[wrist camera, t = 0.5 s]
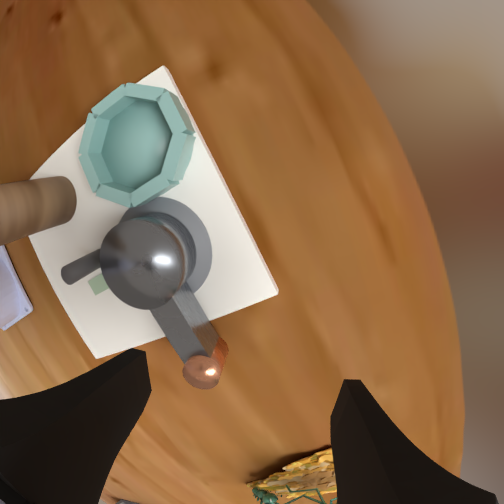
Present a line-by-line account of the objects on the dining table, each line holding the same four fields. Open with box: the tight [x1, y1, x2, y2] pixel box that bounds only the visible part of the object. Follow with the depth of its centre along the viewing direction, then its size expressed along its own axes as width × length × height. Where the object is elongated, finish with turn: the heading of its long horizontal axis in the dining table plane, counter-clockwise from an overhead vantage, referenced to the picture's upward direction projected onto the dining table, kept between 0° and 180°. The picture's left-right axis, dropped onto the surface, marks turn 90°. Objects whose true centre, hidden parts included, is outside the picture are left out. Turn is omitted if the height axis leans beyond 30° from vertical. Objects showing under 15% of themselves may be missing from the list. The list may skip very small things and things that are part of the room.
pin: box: [0, 176, 77, 246], centre depth 14 cm, size 4×4×7 cm
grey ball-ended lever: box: [100, 212, 228, 389], centre depth 16 cm, size 11×5×3 cm, turn 27°
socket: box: [78, 83, 196, 208], centre depth 15 cm, size 7×7×2 cm
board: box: [29, 66, 278, 359], centre depth 16 cm, size 17×16×5 cm
